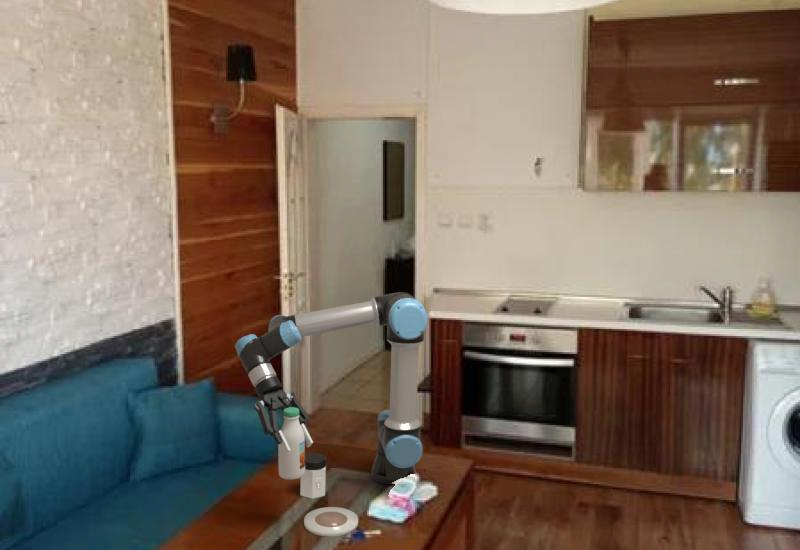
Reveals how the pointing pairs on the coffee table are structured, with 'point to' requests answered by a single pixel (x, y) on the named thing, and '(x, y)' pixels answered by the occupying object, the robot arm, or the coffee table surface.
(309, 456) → the jar
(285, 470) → the milk bottle
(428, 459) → the coffee table surface
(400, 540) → the coffee table surface
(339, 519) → the trivet
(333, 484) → the coffee table surface
